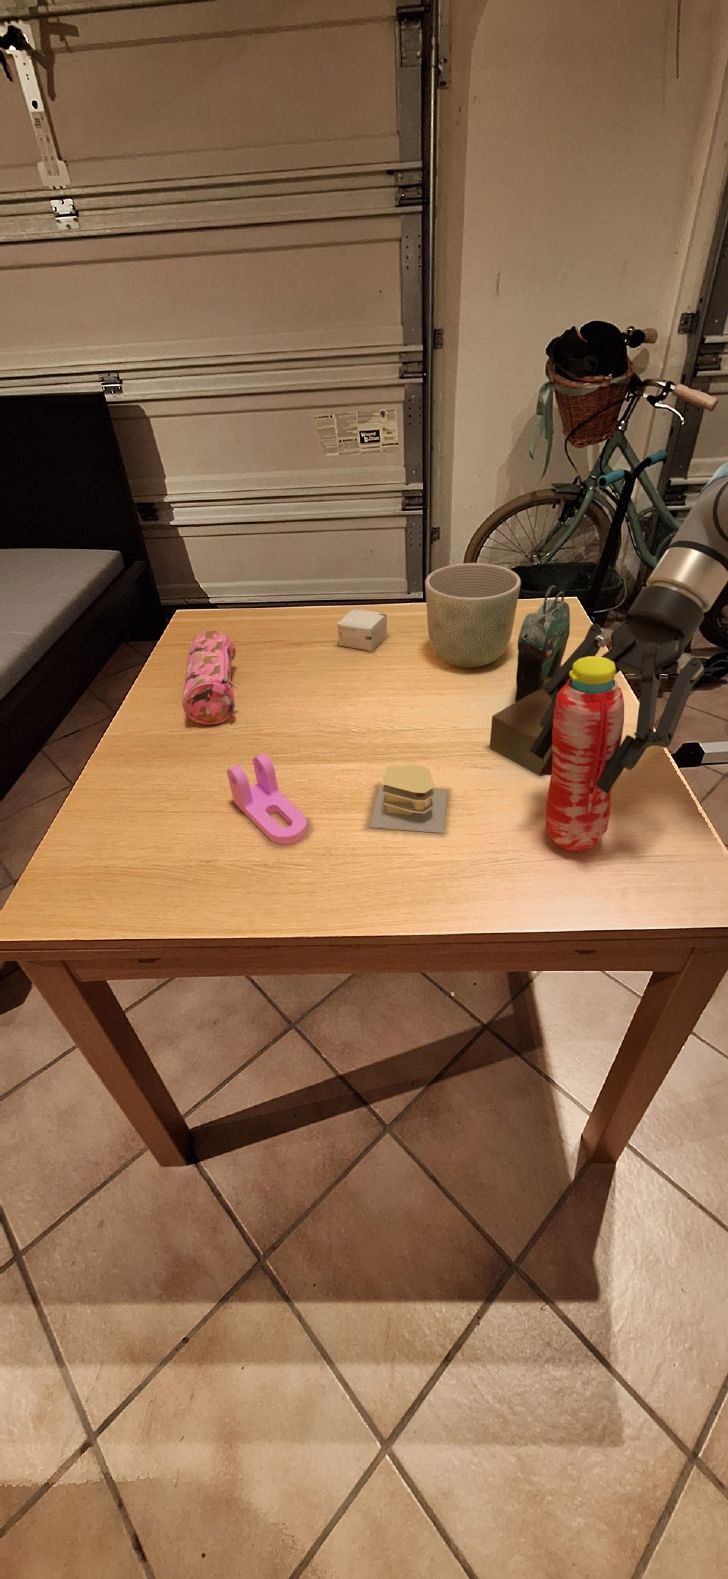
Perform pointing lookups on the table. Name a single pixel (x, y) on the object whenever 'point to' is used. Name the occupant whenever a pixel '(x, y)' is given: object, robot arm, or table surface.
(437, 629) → the planter
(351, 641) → the small box
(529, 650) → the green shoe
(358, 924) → the table surface
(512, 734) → the walnut stand
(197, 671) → the pencil case
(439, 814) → the stacked layers on plate
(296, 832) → the bracket
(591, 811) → the water bottle
